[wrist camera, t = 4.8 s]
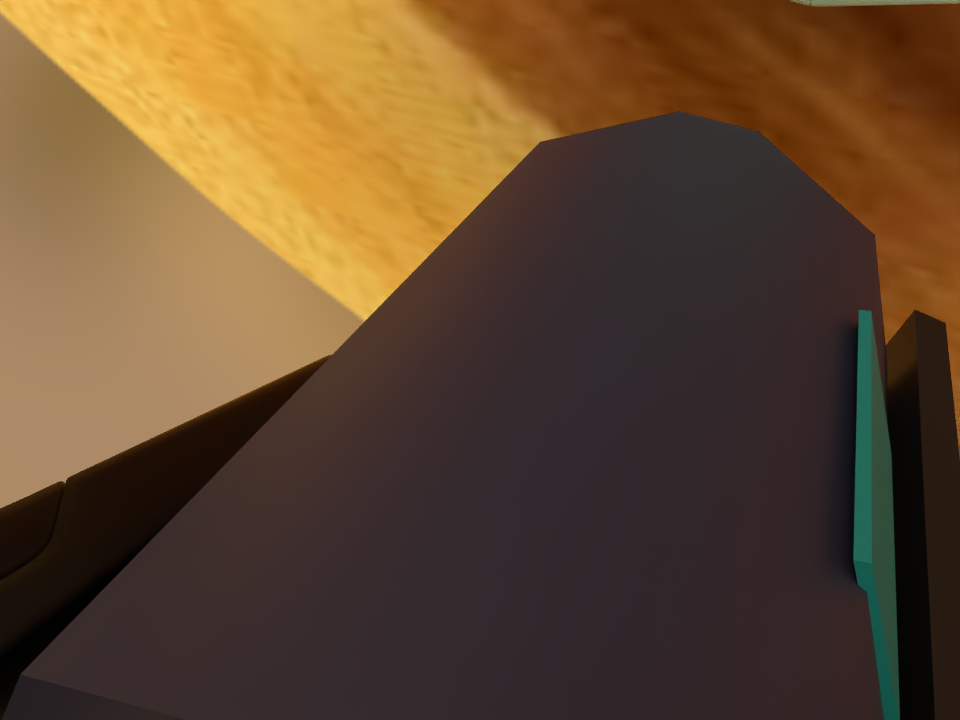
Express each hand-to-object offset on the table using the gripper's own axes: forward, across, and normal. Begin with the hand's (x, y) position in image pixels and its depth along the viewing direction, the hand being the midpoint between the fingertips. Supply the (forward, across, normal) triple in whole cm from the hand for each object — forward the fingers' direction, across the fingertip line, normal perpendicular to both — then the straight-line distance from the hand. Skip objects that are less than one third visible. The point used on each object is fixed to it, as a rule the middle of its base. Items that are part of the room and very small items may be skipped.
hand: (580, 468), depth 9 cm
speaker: (+3, 0, 0) cm, 3 cm away
